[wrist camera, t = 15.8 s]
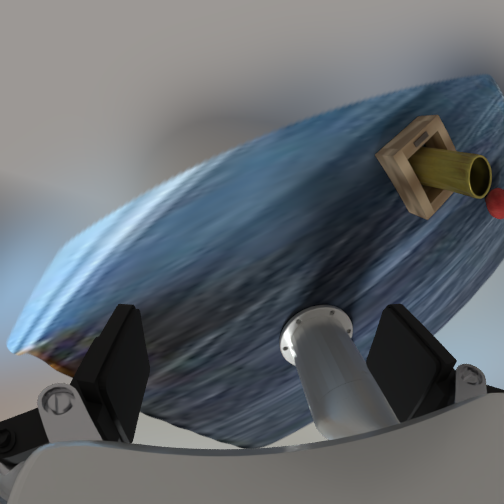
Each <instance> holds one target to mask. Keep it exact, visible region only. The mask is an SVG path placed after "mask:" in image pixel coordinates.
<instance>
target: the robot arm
mask: <svg viewBox="0 0 504 504" xmlns="http://www.w3.org/2000/svg"><path fill="white" fill-rule="evenodd" d="M352 333H353V327H352V323H351V320H350V318H349V317H348V315H347V314H346V313H345V312H344V311H343V310H341V309H340V308H338V307H335V306H331V305H317V306H312V307H309V308H307V309H304V310H302V311H301V312H299V313H297V314H296V315H295V316H293V317H292V318H291V319H290V320H289V321H288V322H287V324H286V325H285V326H284V328H283V330H282V332H281V335H280V339H279V345H280V349H281V352H282V355H283V356H284V358H285V359H286V360H287V361H288V362H289V363H291V364H293V365H295V366H296V368H297V371H298V374H299V377H300V380H301V383H302V387H303V390H304V393H305V396H306V399H307V402H308V405H309V408H310V411H311V414H312V417H313V420H314V423H315V426H316V428H317V429H318V431H319V432H320V433H321V434H322V436H324V437H325V438H326V439H328V441H321V442H315V443H308V444H301V445H292V446H283V447H272V448H258V449H231V450H230V449H227V450H219V449H217V450H216V449H212V450H211V449H187V448H170V447H158V446H150V445H141V444H131V443H132V442H133V438H134V433H135V430H136V425H137V421H138V417H139V412H140V408H141V404H142V400H143V396H144V392H145V388H146V384H147V381H148V377H149V373H150V365H149V360H148V355H147V350H146V344H145V339H144V333H143V327H142V321H141V314H140V310H139V309H135V306H134V305H128V304H118V306H117V307H116V309H115V310H114V312H113V314H112V315H111V317H110V319H109V321H108V322H107V324H106V326H105V327H104V329H103V331H102V333H101V334H100V336H99V337H96V338H95V339H94V341H93V343H92V344H91V346H90V348H89V350H88V351H87V353H86V355H85V357H84V359H83V361H82V362H81V364H80V366H79V368H78V370H77V372H76V374H75V376H74V377H73V379H72V381H71V383H70V385H68V384H65V383H57V384H52V385H50V386H48V387H46V388H45V389H44V390H43V391H42V392H41V393H40V395H39V396H38V400H37V405H38V408H36V409H33V410H31V411H28V412H26V413H23V414H20V415H17V416H15V417H12V418H9V419H7V420H4V421H1V422H0V504H504V390H502V389H499V388H495V387H492V386H489V385H486V379H485V376H484V374H483V372H482V371H481V370H480V369H478V368H477V367H475V366H473V365H470V364H462V365H460V366H458V367H457V369H456V371H455V370H454V369H453V367H454V365H455V363H456V359H455V358H454V357H453V356H452V355H451V354H450V353H449V352H448V351H447V350H446V349H445V347H444V346H442V344H441V343H440V342H439V341H438V340H437V339H436V338H435V337H434V336H433V335H432V334H431V333H430V332H429V331H428V330H427V329H426V328H425V327H424V326H423V325H422V324H421V323H420V322H419V321H418V320H417V319H416V318H415V317H414V316H413V315H412V314H411V313H410V312H409V311H408V310H407V309H406V308H405V307H404V306H403V305H402V304H390V305H388V306H387V307H386V308H385V309H384V310H383V312H382V315H381V318H380V322H379V325H378V328H377V331H376V334H375V337H374V340H373V343H372V346H371V349H370V351H369V354H368V357H367V360H366V362H365V360H364V359H363V357H362V355H361V354H360V352H359V351H358V349H357V347H356V346H355V344H354V343H353V341H352V339H351V337H352Z"/></svg>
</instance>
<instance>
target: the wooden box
mask: <svg viewBox="0 0 504 504" xmlns="http://www.w3.org/2000/svg"><path fill="white" fill-rule="evenodd" d="M424 143H425V145H426V147H428V148H435V149H444V150H450V151H456V149H455V147H454V145H453V143H452V141H451V139H450V137H449V135H448V133H447V131H446V129H445V127H444V125H443V123H442V121H441V119H440V117H439V115H428V116H418V117H417V118H416V119H415V120H413V121H412V122H411V123H410V124H409V125H408V126H407V127H406V128H404V129H403V130H402V131H401V132H400V133H399V134H398V135H397V136H395V137H394V138H393V139H392V140H391V141H390V142H389V143H387V144H386V145H385V146H384V147H383V148H382V149H381V150H380V151H378V152H377V153H376V154H375V156H376V158H377V159H378V161H379V162H380V164H381V165H382V167H383V169H384V170H385V172H386V173H387V175H388V177H389V178H390V180H391V182H392V183H393V185H394V187H395V188H396V190H397V192H398V193H399V195H400V197H401V199H402V200H403V202H404V204H405V206H406V208H407V209H408V211H409V212H410V213H412V214H415V215H417V216H419V217H422V218H424V219H427V220H428V219H429V218H430V217H431V216H432V215H433V214H434V213H435V212H436V211H437V210H438V209H439V208H440V207H441V205H442V204H443V203H444V202H445V201H446V200H447V199H448V198H449V197H450V196H451V194H452V193H453V192H452V191H448V190H444V189H440V188H435V187H430V186H425V185H423V186H421V184H420V182H419V180H418V178H417V176H416V174H415V172H414V171H413V169H412V167H411V165H410V163H409V162H408V159H409V158H410V157H411V156H412V155H413V154H414V153H415V152H416V151H417V150H418V149H419V148H420V147H421V146H422V145H423V144H424Z"/></svg>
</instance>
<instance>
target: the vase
mask: <svg viewBox="0 0 504 504" xmlns="http://www.w3.org/2000/svg"><path fill="white" fill-rule="evenodd" d="M408 162H409V163H410V165H411V167H412V169H413V171H414V172H415V174H416V176H417V178H418V180H419V182H420V184H421V185H425V186H430V187H435V188H440V189H444V190H448V191H452V192H456V193H460V194H463V195H467V196H470V197H473V198H479V199H481V198H483V197H485V196H486V194H487V193H488V191H489V189H490V186H491V182H492V171H491V167H490V164H489V162H488V160H487V159H486V158H485V157H484V156H482V155H478V154H472V153H464V152H457V151H450V150H444V149H435V148H428V147H420V148H419V149H418V150H417V151H416V152H415V153H414V154H413V155H412V156H411V157H410V158H409V159H408Z"/></svg>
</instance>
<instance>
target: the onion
mask: <svg viewBox="0 0 504 504" xmlns="http://www.w3.org/2000/svg"><path fill="white" fill-rule="evenodd" d="M485 202H486V205H487V209H488V211H489V213H490V214H491V215H492V216H493V217H495V218H497V219H503V218H504V190H503V189H500V188H495V189H493V190H491V191H490V192H489V194H488V195H487V197H486V198H485Z"/></svg>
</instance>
